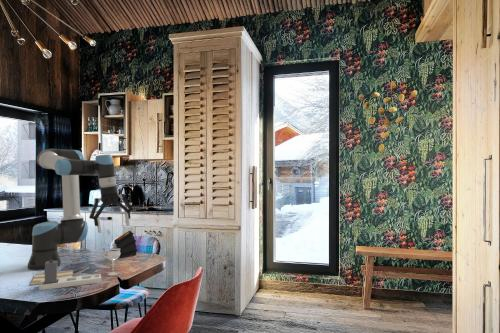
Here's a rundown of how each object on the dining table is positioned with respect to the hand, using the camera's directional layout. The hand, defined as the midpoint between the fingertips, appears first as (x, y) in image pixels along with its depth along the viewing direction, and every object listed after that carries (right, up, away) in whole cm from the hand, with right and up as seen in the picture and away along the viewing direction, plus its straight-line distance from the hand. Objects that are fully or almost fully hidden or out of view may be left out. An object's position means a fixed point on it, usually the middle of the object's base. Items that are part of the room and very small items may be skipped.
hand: (114, 229), depth 161 cm
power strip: (-14, -23, -14) cm, 30 cm away
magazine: (-9, -24, +38) cm, 46 cm away
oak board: (-27, -23, -6) cm, 35 cm away
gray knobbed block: (-21, -22, -17) cm, 35 cm away
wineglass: (-2, -23, +3) cm, 24 cm away
